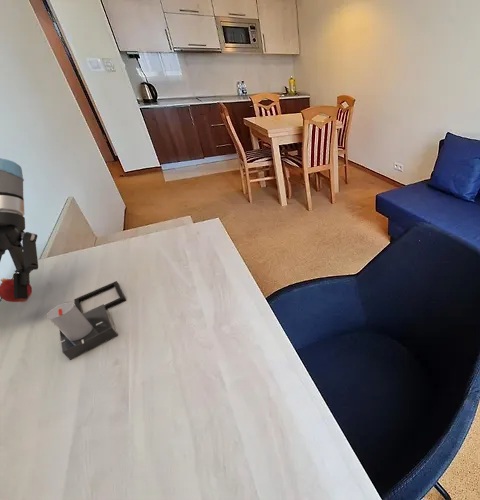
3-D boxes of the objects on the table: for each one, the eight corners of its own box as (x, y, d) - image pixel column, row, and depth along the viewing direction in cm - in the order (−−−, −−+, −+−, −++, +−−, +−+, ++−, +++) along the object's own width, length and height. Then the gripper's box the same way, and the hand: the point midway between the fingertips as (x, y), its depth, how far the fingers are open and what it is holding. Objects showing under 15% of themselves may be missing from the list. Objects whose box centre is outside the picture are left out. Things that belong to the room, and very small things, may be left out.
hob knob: (67, 333, 75) (45, 309, 70) (91, 321, 77) (71, 298, 72) (69, 344, 71) (46, 320, 67) (94, 332, 74) (73, 308, 69)
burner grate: (76, 302, 89) (73, 299, 88) (118, 283, 94) (116, 280, 94) (80, 322, 82) (78, 318, 81) (126, 300, 88) (124, 297, 87)
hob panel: (62, 333, 79) (55, 325, 77) (109, 311, 84) (103, 303, 82) (67, 363, 71) (58, 355, 69) (118, 336, 76) (112, 328, 75)
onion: (38, 290, 85) (18, 268, 81) (39, 300, 82) (18, 277, 77) (11, 301, 82) (-12, 279, 77) (11, 312, 78) (-13, 289, 74)
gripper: (54, 213, 86) (59, 294, 82) (-21, 225, 83) (-19, 309, 79) (30, 204, 78) (34, 292, 75) (-54, 217, 76) (-54, 309, 72)
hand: (7, 301), depth 77 cm, fingers closed on onion, 6 cm apart
